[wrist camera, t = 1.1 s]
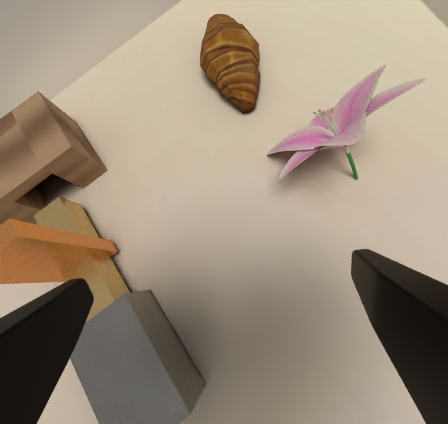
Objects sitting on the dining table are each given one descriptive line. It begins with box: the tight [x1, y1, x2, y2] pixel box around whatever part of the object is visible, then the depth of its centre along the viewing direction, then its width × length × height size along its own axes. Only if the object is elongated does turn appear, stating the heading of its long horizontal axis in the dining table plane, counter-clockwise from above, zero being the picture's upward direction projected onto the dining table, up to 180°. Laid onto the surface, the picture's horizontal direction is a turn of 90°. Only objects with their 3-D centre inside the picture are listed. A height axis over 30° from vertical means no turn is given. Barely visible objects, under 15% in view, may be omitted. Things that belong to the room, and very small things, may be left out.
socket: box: [0, 92, 107, 225], centre depth 27 cm, size 8×11×6 cm
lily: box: [267, 65, 426, 180], centre depth 21 cm, size 12×12×10 cm
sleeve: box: [70, 290, 206, 424], centre depth 20 cm, size 10×6×5 cm, turn 36°
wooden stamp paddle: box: [0, 197, 130, 323], centre depth 19 cm, size 20×5×10 cm, turn 36°
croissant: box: [200, 14, 261, 113], centre depth 27 cm, size 14×7×5 cm, turn 16°
